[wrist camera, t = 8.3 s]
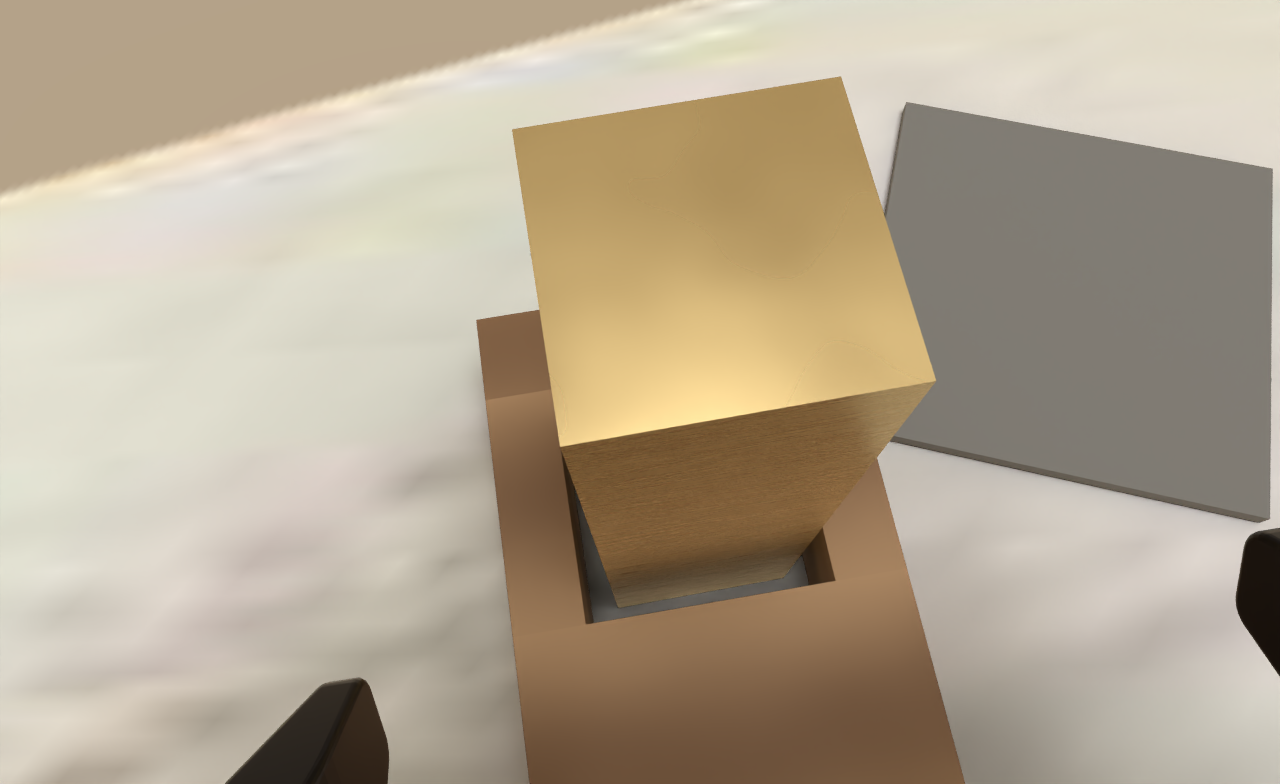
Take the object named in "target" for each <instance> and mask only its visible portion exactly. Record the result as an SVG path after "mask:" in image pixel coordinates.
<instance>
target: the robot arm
mask: <svg viewBox="0 0 1280 784" xmlns="http://www.w3.org/2000/svg"><path fill="white" fill-rule="evenodd" d="M1236 607H1237V611H1238V614H1239V616H1240V618H1241V621H1242V622H1243V624H1244V626H1245V627H1246V629H1247V630H1248V631H1249V633H1250V634H1251V636H1252V637H1253V639H1254V640H1255V642H1256V643H1257V644H1258V646H1259V647H1260V649H1261V650H1262V652H1263V653H1264V654H1265V656H1266V657H1267V659H1268V660H1269V662H1270V663H1271V665H1272V666H1273V667H1274V669H1275V670H1276V672H1277V673H1278V675H1279V676H1280V528H1276V529H1270V530H1264V531H1258V532H1255V533H1253V534H1251V535H1250V536H1249V537H1248V539H1247V540H1246V542H1245V545H1244V550H1243V556H1242V562H1241V568H1240V574H1239V579H1238V585H1237V591H1236ZM388 769H389V750H388V743H387V738H386V735H385V732H384V729H383V726H382V722H381V719H380V716H379V713H378V710H377V707H376V704H375V701H374V698H373V695H372V692H371V689H370V686H369V685H368V683H367V682H366V681H365V680H363V679H361V678H352V679H346V680H339V681H333V682H328V683H325V684H323V685H321V686H320V687H319V688H317V689H316V690H315V691H314V692H313V693H312V694H311V695H310V696H309V698H308V699H307V700H306V701H305V702H304V703H303V704H302V705H301V706H300V707H299V708H298V709H297V710H296V711H295V712H294V713H293V714H292V715H291V716H290V717H289V718H288V719H287V720H286V721H285V722H284V723H283V724H282V725H281V726H280V727H279V728H278V729H277V730H276V731H275V732H274V734H273V735H272V736H271V737H270V738H269V739H268V740H267V741H266V742H265V743H264V744H263V745H262V746H261V747H260V748H259V749H258V750H257V751H256V752H255V753H254V754H253V755H252V756H251V757H250V758H249V759H248V760H247V761H246V762H245V763H244V764H243V765H242V766H241V767H240V768H239V769H238V771H237V772H236V773H235V774H234V775H233V776H232V777H231V778H230V779H229V780H228V781H227V782H226V783H225V784H387V782H388Z"/></svg>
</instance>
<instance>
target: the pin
mask: <svg viewBox="0 0 1280 784" xmlns="http://www.w3.org/2000/svg"><path fill="white" fill-rule="evenodd" d="M512 132H513V138H514V145H515V152H516V158H517V165H518V171H519V178H520V185H521V191H522V198H523V205H524V211H525V218H526V224H527V231H528V238H529V244H530V251H531V257H532V264H533V271H534V277H535V284H536V290H537V297H538V304H539V310H540V317H541V323H542V330H543V337H544V343H545V350H546V357H547V363H548V370H549V376H550V383H551V390H552V396H553V403H554V409H555V416H556V423H557V429H558V436H559V442H560V448H561V451H562V453H563V456H564V459H565V462H566V464H567V467H568V470H569V473H570V475H571V478H572V481H573V484H574V487H575V489H576V492H577V495H578V498H579V500H580V503H581V506H582V509H583V511H584V514H585V517H586V520H587V523H588V525H589V528H590V531H591V534H592V536H593V539H594V542H595V545H596V548H597V550H598V553H599V556H600V559H601V561H602V564H603V567H604V570H605V572H606V575H607V578H608V581H609V584H610V586H611V589H612V592H613V595H614V597H615V600H616V603H617V606H618V608H621V607H626V606H632V605H637V604H643V603H648V602H654V601H659V600H665V599H670V598H676V597H681V596H687V595H692V594H698V593H703V592H709V591H714V590H720V589H725V588H731V587H736V586H742V585H747V584H753V583H758V582H764V581H769V580H774V579H780V578H784V576H785V575H786V574H787V572H788V571H789V570H790V569H791V567H792V566H793V565H794V563H795V562H796V561H797V560H798V558H799V557H800V556H801V554H802V553H803V552H804V551H805V549H806V548H807V547H808V545H809V544H810V543H811V542H812V540H813V539H814V538H815V536H816V535H817V534H818V533H819V531H820V530H821V529H822V527H823V526H824V525H825V524H826V522H827V521H828V520H829V518H830V517H831V516H832V515H833V513H834V512H835V511H836V509H837V508H838V507H839V506H840V504H841V503H842V502H843V500H844V499H845V498H846V497H847V495H848V494H849V493H850V491H851V490H852V489H853V488H854V486H855V485H856V484H857V482H858V481H859V480H860V479H861V477H862V476H863V475H864V473H865V472H866V471H867V469H868V468H869V467H870V466H871V464H872V463H873V462H874V460H875V459H876V458H877V457H878V455H879V454H880V453H881V451H882V450H883V449H884V448H885V446H886V445H887V444H888V442H889V441H890V440H891V439H892V437H893V436H894V435H895V433H896V432H897V431H898V430H899V428H900V427H901V426H902V424H903V423H904V422H905V421H906V419H907V418H908V417H909V415H910V414H911V413H912V412H913V410H914V409H915V408H916V406H917V405H918V404H919V403H920V401H921V400H922V399H923V397H924V396H925V395H926V394H927V392H928V391H929V390H930V388H931V387H932V386H933V385H934V383H935V382H936V378H935V375H934V372H933V369H932V365H931V362H930V359H929V356H928V353H927V350H926V346H925V343H924V340H923V337H922V334H921V330H920V327H919V324H918V321H917V318H916V314H915V311H914V308H913V305H912V302H911V298H910V295H909V292H908V289H907V286H906V283H905V279H904V276H903V273H902V270H901V267H900V263H899V260H898V257H897V254H896V251H895V247H894V244H893V241H892V238H891V235H890V231H889V228H888V225H887V222H886V219H885V216H884V212H883V209H882V206H881V203H880V200H879V196H878V193H877V190H876V187H875V184H874V180H873V177H872V174H871V171H870V168H869V164H868V161H867V158H866V155H865V152H864V149H863V145H862V142H861V139H860V136H859V133H858V129H857V126H856V123H855V120H854V117H853V113H852V110H851V107H850V104H849V101H848V97H847V94H846V91H845V88H844V85H843V82H842V78H841V77H835V78H829V79H823V80H816V81H810V82H804V83H798V84H792V85H785V86H779V87H773V88H767V89H760V90H754V91H748V92H742V93H736V94H729V95H723V96H717V97H711V98H705V99H698V100H692V101H686V102H680V103H673V104H667V105H661V106H655V107H649V108H642V109H636V110H630V111H624V112H618V113H611V114H605V115H599V116H593V117H586V118H580V119H574V120H568V121H562V122H555V123H549V124H543V125H537V126H531V127H524V128H518V129H512Z"/></svg>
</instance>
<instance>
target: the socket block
mask: <svg viewBox="0 0 1280 784" xmlns="http://www.w3.org/2000/svg"><path fill="white" fill-rule="evenodd" d="M476 321H477V330H478V339H479V348H480V356H481V365H482V374H483V382H484V391H485V400H486V409H487V417H488V426H489V435H490V443H491V452H492V461H493V469H494V478H495V487H496V496H497V504H498V513H499V522H500V530H501V539H502V548H503V557H504V565H505V574H506V583H507V591H508V600H509V609H510V618H511V626H512V635H513V644H514V652H515V661H516V670H517V679H518V687H519V696H520V705H521V713H522V722H523V731H524V740H525V748H526V757H527V766H528V774H529V783H530V784H965V782H964V778H963V774H962V770H961V767H960V763H959V759H958V756H957V752H956V748H955V745H954V741H953V737H952V734H951V730H950V726H949V722H948V719H947V715H946V711H945V708H944V704H943V700H942V697H941V693H940V689H939V686H938V682H937V678H936V675H935V671H934V667H933V663H932V660H931V656H930V652H929V649H928V645H927V641H926V638H925V634H924V630H923V627H922V623H921V619H920V615H919V612H918V608H917V604H916V601H915V597H914V593H913V590H912V586H911V582H910V579H909V575H908V571H907V567H906V564H905V560H904V556H903V553H902V549H901V545H900V542H899V538H898V534H897V531H896V527H895V523H894V519H893V516H892V512H891V508H890V505H889V501H888V497H887V494H886V490H885V486H884V483H883V479H882V475H881V472H880V468H879V464H878V460H877V458H876V459H875V460H874V462H873V463H872V464H871V466H870V467H869V468H868V469H867V471H866V472H865V473H864V475H863V476H862V477H861V479H860V480H859V481H858V482H857V484H856V485H855V486H854V488H853V489H852V490H851V491H850V493H849V494H848V495H847V497H846V498H845V499H844V500H843V502H842V503H841V504H840V506H839V507H838V508H837V509H836V511H835V512H834V513H833V515H832V516H831V517H830V518H829V520H828V521H827V522H826V524H825V525H824V526H823V527H822V529H821V530H820V531H819V533H818V534H817V535H816V536H815V538H814V539H813V540H812V542H811V543H810V544H809V545H808V547H807V548H806V549H805V551H804V552H803V553H802V555H803V559H804V563H805V568H806V572H807V576H808V581H809V586H804V587H798V588H792V589H786V590H781V591H775V592H769V593H763V594H758V595H752V596H746V597H741V598H735V599H729V600H723V601H718V602H712V603H706V604H701V605H695V606H689V607H683V608H678V609H672V610H666V611H660V612H655V613H649V614H643V615H638V616H632V617H626V618H620V619H615V620H609V621H603V622H598V623H594V622H593V615H592V608H591V601H590V594H589V587H588V580H587V574H586V567H585V560H584V553H583V546H582V539H581V533H580V526H579V519H578V512H577V505H576V498H575V492H574V485H573V481H572V478H571V475H570V473H569V470H568V467H567V464H566V462H565V459H564V456H563V453H562V451H561V448H560V442H559V436H558V429H557V423H556V416H555V409H554V403H553V396H552V390H551V383H550V376H549V370H548V363H547V357H546V350H545V343H544V337H543V330H542V323H541V317H540V310H535V311H529V312H523V313H517V314H510V315H504V316H498V317H492V318H486V319H480V320H476Z"/></svg>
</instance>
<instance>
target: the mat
mask: <svg viewBox="0 0 1280 784" xmlns="http://www.w3.org/2000/svg"><path fill="white" fill-rule="evenodd" d="M1272 180H1273V169H1271V168H1265V167H1260V166H1254V165H1249V164H1243V163H1238V162H1232V161H1227V160H1221V159H1216V158H1210V157H1205V156H1199V155H1194V154H1188V153H1183V152H1177V151H1172V150H1166V149H1161V148H1155V147H1150V146H1145V145H1139V144H1134V143H1128V142H1123V141H1117V140H1112V139H1106V138H1101V137H1095V136H1090V135H1084V134H1079V133H1073V132H1068V131H1062V130H1057V129H1051V128H1046V127H1040V126H1035V125H1029V124H1024V123H1018V122H1013V121H1007V120H1002V119H996V118H991V117H985V116H980V115H974V114H969V113H963V112H958V111H952V110H947V109H941V108H936V107H930V106H925V105H919V104H914V103H908V102H906V105H905V107H904V110H903V114H902V120H901V125H900V131H899V137H898V142H897V148H896V154H895V159H894V165H893V171H892V176H891V182H890V188H889V193H888V199H887V205H886V210H885V219H886V222H887V225H888V228H889V231H890V235H891V238H892V241H893V244H894V247H895V251H896V254H897V257H898V260H899V263H900V267H901V270H902V273H903V276H904V279H905V283H906V286H907V289H908V292H909V295H910V298H911V302H912V305H913V308H914V311H915V314H916V318H917V321H918V324H919V327H920V330H921V334H922V337H923V340H924V343H925V346H926V350H927V353H928V356H929V359H930V362H931V365H932V369H933V372H934V375H935V378H936V382H935V383H934V385H933V386H932V387H931V388H930V390H929V391H928V392H927V394H926V395H925V396H924V397H923V399H922V400H921V401H920V403H919V404H918V405H917V406H916V408H915V409H914V410H913V412H912V413H911V414H910V415H909V417H908V418H907V419H906V421H905V422H904V423H903V424H902V426H901V427H900V428H899V430H898V431H897V432H896V433H895V435H894V436H893V437H892V439H891V440H890V441H894V442H898V443H903V444H907V445H912V446H916V447H921V448H925V449H930V450H934V451H939V452H943V453H948V454H952V455H957V456H961V457H966V458H970V459H975V460H979V461H984V462H988V463H993V464H997V465H1002V466H1006V467H1011V468H1015V469H1020V470H1025V471H1029V472H1034V473H1038V474H1043V475H1047V476H1052V477H1056V478H1061V479H1065V480H1070V481H1074V482H1079V483H1083V484H1088V485H1092V486H1097V487H1101V488H1106V489H1110V490H1115V491H1119V492H1124V493H1128V494H1133V495H1137V496H1142V497H1146V498H1151V499H1155V500H1160V501H1164V502H1169V503H1173V504H1178V505H1182V506H1187V507H1191V508H1196V509H1200V510H1205V511H1209V512H1214V513H1218V514H1223V515H1227V516H1232V517H1236V518H1241V519H1245V520H1250V521H1254V522H1259V523H1260V522H1263V521H1266V520H1269V519H1270V443H1271V311H1272Z"/></svg>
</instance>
